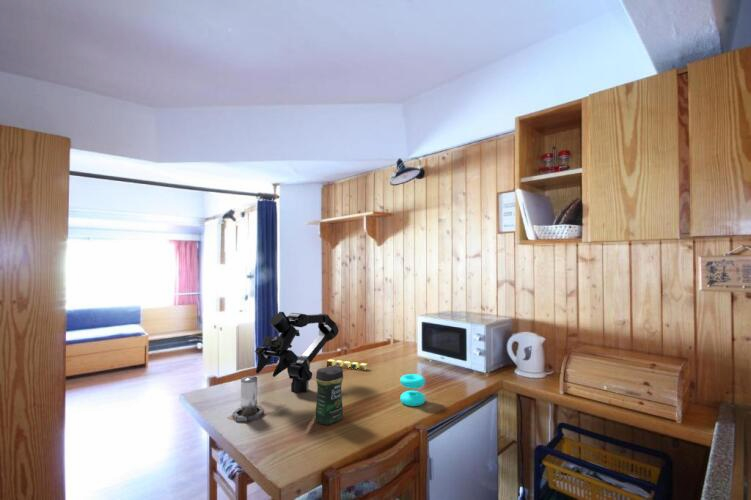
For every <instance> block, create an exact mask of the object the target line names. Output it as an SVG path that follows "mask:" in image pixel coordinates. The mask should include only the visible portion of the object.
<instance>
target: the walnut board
mask: <svg viewBox="0 0 751 500" xmlns="http://www.w3.org/2000/svg"><path fill="white" fill-rule="evenodd" d="M287 405H288V404H287V403H282V402H278V401H275V400H270V399H264V400H261V401H260V402H257V406H261V407H262V408H263V409H264V414H263V415H262V416H261V417H260V418H259V419H256V420H253V421H249V422H240V423H241V424H245V425H248V426H249V424H252V423H254V422H256V421H258V420H260V419H262V418H263V417H266V416H268V415H270V414H272V413H274V412H275V411H277V410H279V409H282V408H283V407H286V406H287ZM257 413H258V411H257ZM239 416H241V413H240V414H239ZM226 419H228V420H232V421H234V422H236V421H235V420H234V419H233V418H232V414H231V415H229V416H227V417H226Z"/></svg>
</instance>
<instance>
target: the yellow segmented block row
mask: <svg viewBox="0 0 751 500" xmlns="http://www.w3.org/2000/svg"><path fill="white" fill-rule="evenodd" d="M333 365H337V366H340V367H341V366H343V367H344V368H343V367H342V368H343V369H345V368H349V367H351V368H353V369H357V368H359V369H360V370H366V369H367V370H368V363H364V362H361V363H360V362H356V361H353V362H351V361H349V360H348V361H344V360H339V359H337V360H335V359H330V358H329V359H328V360H326V366H327V367H329V366H333ZM351 368H349V369H351ZM353 369H352V370H353ZM359 369H357V370H359ZM360 370H359V371H360ZM367 370H366V371H367Z"/></svg>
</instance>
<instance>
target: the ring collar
mask: <svg viewBox="0 0 751 500" xmlns="http://www.w3.org/2000/svg"><path fill="white" fill-rule="evenodd" d="M257 411H258V413H257V414H253V415H250V416H239V414H240V413H241V407H238V408H236V410H234V411H233V412H232V414H231V415H232V418H233V419H234V420H235V421H234V420H233V421H234V422H238V423H241V422H249V421H253V420H256V419H258V420H260V419H261V418H260V417H261V416H262V415H263V414H264V409H263V408H262V407H261V406H257ZM259 418H260V419H259ZM256 421H257V420H256Z"/></svg>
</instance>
